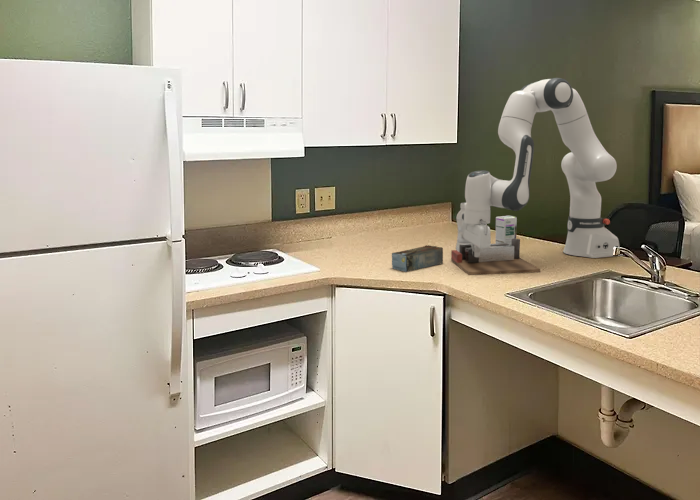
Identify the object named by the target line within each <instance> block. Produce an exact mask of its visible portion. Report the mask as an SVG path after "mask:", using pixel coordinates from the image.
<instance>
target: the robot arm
mask: <svg viewBox="0 0 700 500" xmlns="http://www.w3.org/2000/svg"><path fill="white" fill-rule="evenodd" d="M550 111H551V112H552V113H553V116H554V120H555V122H556V123H555V124H556V125H557V128H558V131H559V134H560V137H561V140H562V143H563V144H564V145H565V146H566V148H568V149H569V150H570V151H571V152H568V153H567V154H565V155H564V156H563V158H562V160H561V165H560V167H561V170H562V172H563V173H564V175H565V178H566V181H567V185H568V189H569V196H570V197H569V198H570V199H569V200H570V201H569V216H568V219H567V235H566V241H565V244H564V248H563V251H562V252H563V253H564V254H566V255H570V256H576V257H585V258H591V259H598V258H608V257H614V256H613V247H614V246H618V247H619V248H620V241H619V238H618V236H616V235H615V234H614V233H612V232H611V231H610V230H609V229H607V227H605V225H610V224H611V221H610V219H609V218H603V217H601V211H602V196H601V194H600V192H599V190H598V188H597V184H596V183H599V182H605V181H608V180H610V179H612V178H613V177H614V176H615V174H616V172H617V167H618V165H617V161H616V158H614V157H613V156H612V155H611V154H610V153H609V152H608V151H607V150H606V149H605V147H604V146H603V145H602V143H601V141H600V140H599V138H598V137H597V135H596V133H595V130H594V128H593V126H592V124H591V120H590V118H589V114H588V112H587V109H586V106H585V104H584V101H583V100H582V97H581V96H580V93H578V91H577V90H576V89H575V88H573V87H572V85H571V84H570V83H569V81H568V80H566V79H565V78H561V77H552V78H547V79H546V78H545V79H541V80H539V81H535V82H531V83H528V84H525V85H524V86H522V88H521V89H520V90H516V91H514V92H512V93H511V94H510V95H509V97H508V99H507V101H506V104H505V106H504V108H503V111H502V114H501V118H500V120H499V123H498V128H497V134H498V137H499V140H500V141H501V142H502V143H503V144H504V145H505V146H507V147H508V148H510V149H512V150H513V152H514V153H515V161H514V162H515V163H514V170H513V174H512V178H511V179H510V180H505V179H504V180H503V179H499V178H497V177H496V176H493V175H491V173H490V171H489V170H484V169H482V170H475V171H471V172H470V173H469V174H468V175H467V177H466V181H465V187H464V198H465V203H466V205H465V212H464V213H463V214H462V217H461V218H462V220H463V237H464V239H465V240H467V241H469V242H470V243H471V247H472V255H473V256H474V257H479V256H480V250H481V249H489V248H490V245H491V244H492V243H491V242H492V241H491V240H492V237H491V235H492V234H491V228H490V226H489V225H487V224H491V207H496V208H500V209H506V210H509V211H514V212H517V211H520V210H522V209H523V208H525V206H527V204H528V202H529V200H530V195H531V193H530V190H531V189H530V181H531V175H532V167H533V161H534V154H535V153H534V152H535V144H534V139H533V138H532V133H531V132H532V126H533V123H534V118H535V115H536V114H537V113H545V112H550ZM619 256H620V257H621V256H624V255H623V254H620V255H618V256H617V257H619Z"/></svg>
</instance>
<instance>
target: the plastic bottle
mask: <svg viewBox="0 0 700 500" xmlns="http://www.w3.org/2000/svg"><path fill="white" fill-rule="evenodd" d="M465 205H466V202H461V203H460V205H459V206H460V207H459V208H460V210H459V211H458V213H457V214H456V218H455V219H456V224H457V225H456V226H457V240H456V243H455V244H456V245H455V250H457V251H458V252H459V247H460V245H465V244H470V245H471V243H470V242H469V241H467V240H465V239H464V237H463V220H462V218H461V217H462V214H463V213H464V212H465Z"/></svg>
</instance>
